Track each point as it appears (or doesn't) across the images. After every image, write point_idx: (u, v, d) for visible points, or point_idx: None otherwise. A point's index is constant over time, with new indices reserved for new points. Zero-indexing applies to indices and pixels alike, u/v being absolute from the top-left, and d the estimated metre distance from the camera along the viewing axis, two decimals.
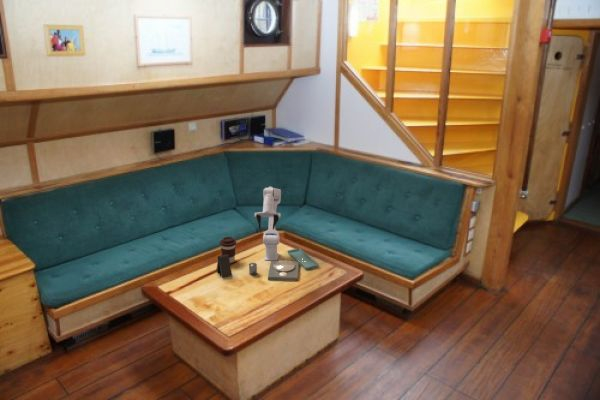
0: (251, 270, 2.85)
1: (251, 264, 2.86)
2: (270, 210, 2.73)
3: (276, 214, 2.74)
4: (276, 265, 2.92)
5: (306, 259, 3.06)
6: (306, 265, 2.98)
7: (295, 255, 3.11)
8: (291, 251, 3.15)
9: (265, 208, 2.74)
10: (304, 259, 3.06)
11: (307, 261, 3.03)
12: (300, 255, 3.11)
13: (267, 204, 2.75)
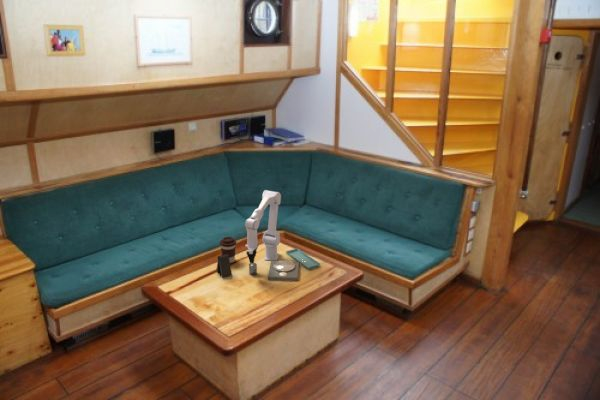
0: (251, 270, 2.85)
1: (251, 264, 2.86)
2: (248, 245, 2.80)
3: None
4: (276, 265, 2.92)
5: (306, 259, 3.06)
6: (307, 265, 2.98)
7: (294, 255, 3.10)
8: (290, 251, 3.14)
9: None
10: (304, 259, 3.06)
11: (307, 261, 3.03)
12: (299, 255, 3.11)
13: None
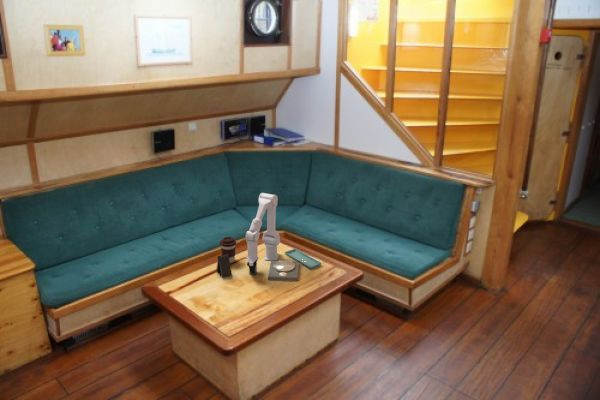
0: None
1: None
2: (248, 256, 2.83)
3: None
4: (276, 265, 2.92)
5: (306, 259, 3.06)
6: (308, 265, 2.99)
7: (293, 256, 3.10)
8: (288, 252, 3.13)
9: None
10: (304, 259, 3.06)
11: (308, 260, 3.04)
12: (298, 255, 3.10)
13: None
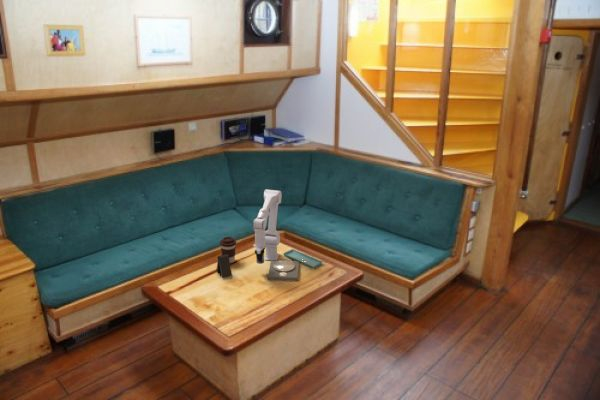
0: None
1: None
2: (255, 244, 2.81)
3: None
4: (276, 265, 2.92)
5: (306, 258, 3.06)
6: (310, 264, 2.99)
7: (292, 256, 3.09)
8: (286, 253, 3.12)
9: None
10: (304, 259, 3.06)
11: (308, 260, 3.04)
12: (297, 255, 3.10)
13: None
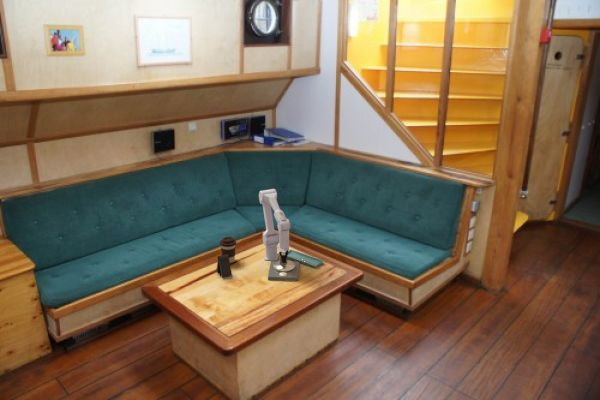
0: None
1: None
2: (280, 246, 2.86)
3: (282, 251, 2.83)
4: (276, 265, 2.92)
5: (305, 258, 3.07)
6: (311, 264, 3.00)
7: (292, 257, 3.08)
8: None
9: None
10: (304, 259, 3.06)
11: (308, 260, 3.05)
12: (296, 256, 3.10)
13: (279, 239, 2.86)
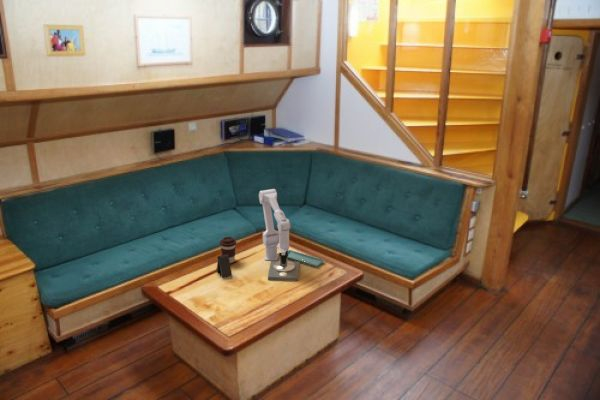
0: None
1: None
2: (280, 246, 2.86)
3: (282, 251, 2.83)
4: (276, 265, 2.92)
5: (305, 258, 3.07)
6: (312, 263, 3.00)
7: (291, 257, 3.08)
8: None
9: None
10: (303, 259, 3.06)
11: (308, 260, 3.05)
12: (296, 256, 3.09)
13: (279, 239, 2.86)
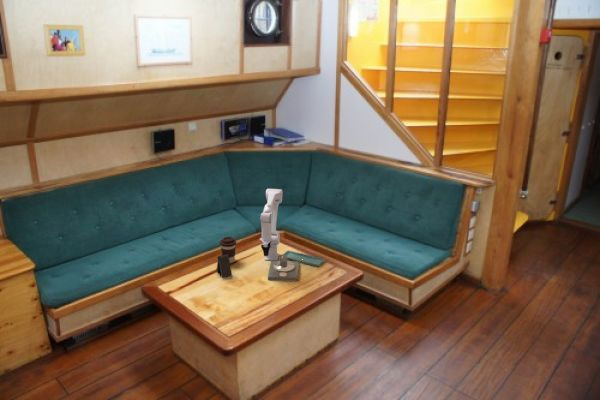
0: (282, 262, 2.89)
1: (282, 256, 2.90)
2: (262, 238, 2.86)
3: (264, 243, 2.83)
4: (276, 265, 2.92)
5: (305, 258, 3.07)
6: (313, 263, 3.01)
7: (291, 258, 3.07)
8: None
9: None
10: (303, 258, 3.06)
11: (308, 259, 3.05)
12: (295, 256, 3.09)
13: None
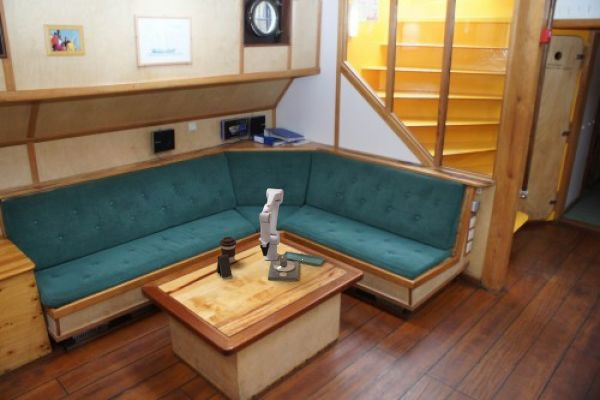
0: (282, 262, 2.89)
1: (282, 256, 2.90)
2: (261, 238, 2.86)
3: (263, 243, 2.83)
4: (276, 265, 2.92)
5: (305, 258, 3.07)
6: (313, 262, 3.01)
7: (291, 258, 3.07)
8: None
9: None
10: (303, 258, 3.06)
11: (308, 259, 3.06)
12: (294, 257, 3.09)
13: None
